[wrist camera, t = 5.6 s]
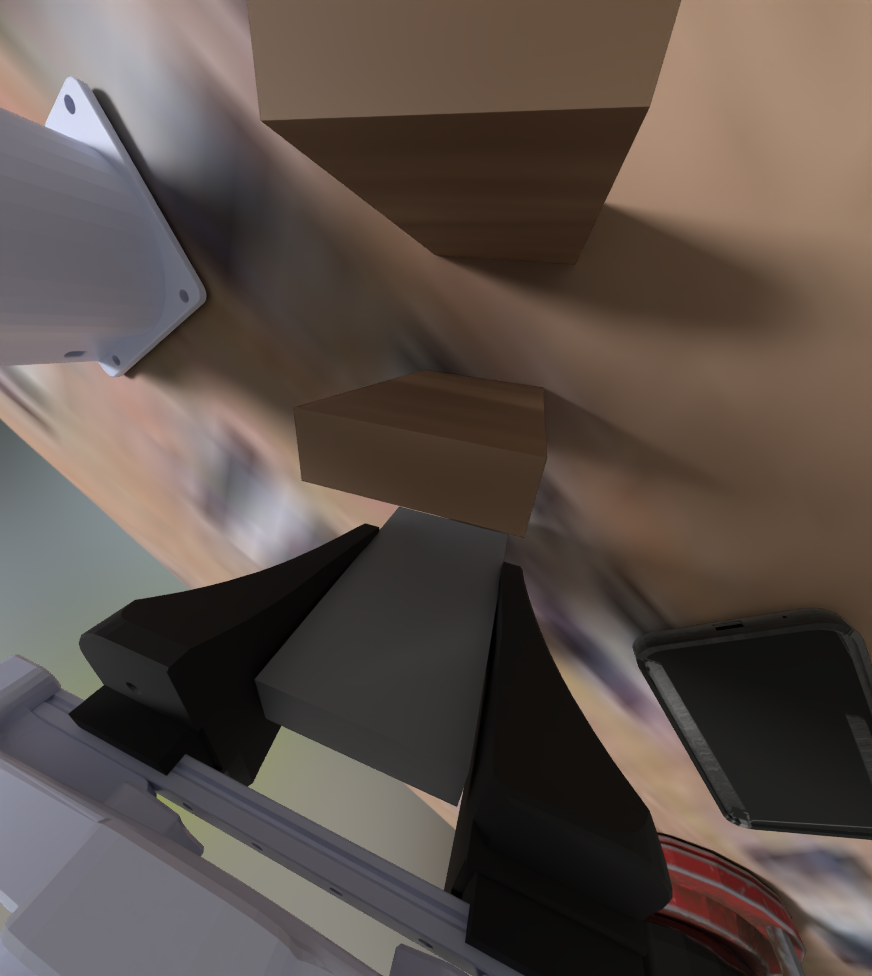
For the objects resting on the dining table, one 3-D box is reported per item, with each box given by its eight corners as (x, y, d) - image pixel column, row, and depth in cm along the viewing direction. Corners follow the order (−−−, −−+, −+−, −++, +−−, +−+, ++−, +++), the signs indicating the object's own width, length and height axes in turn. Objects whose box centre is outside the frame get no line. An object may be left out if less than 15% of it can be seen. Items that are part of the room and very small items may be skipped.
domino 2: (532, 427, 13) (523, 537, 6) (422, 407, 14) (301, 480, 7) (543, 387, 12) (547, 458, 5) (425, 369, 13) (293, 407, 6)
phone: (730, 827, 18) (629, 650, 15) (720, 802, 19) (623, 631, 16) (934, 845, 15) (861, 617, 11) (910, 813, 16) (835, 595, 12)
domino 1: (575, 263, 10) (650, 106, 3) (435, 254, 11) (260, 120, 4) (591, 199, 9) (738, -194, 2) (439, 196, 10) (236, -86, 3)
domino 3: (500, 564, 13) (457, 806, 6) (397, 535, 14) (265, 718, 7) (507, 534, 13) (468, 771, 6) (399, 506, 14) (254, 679, 7)
